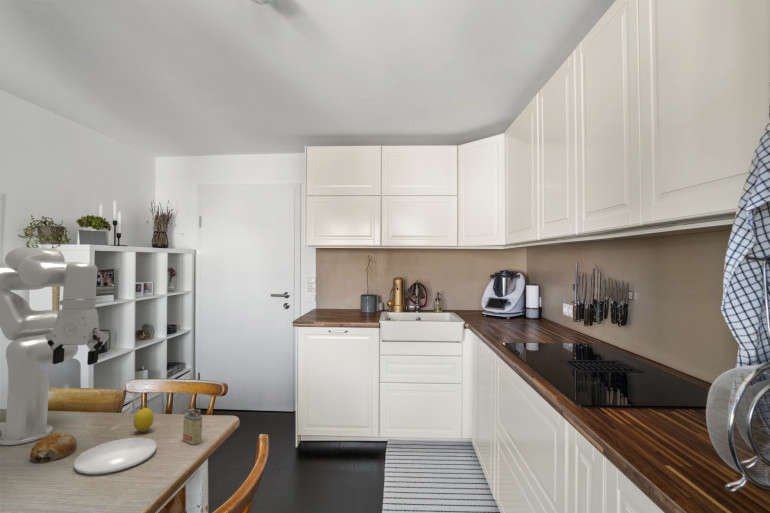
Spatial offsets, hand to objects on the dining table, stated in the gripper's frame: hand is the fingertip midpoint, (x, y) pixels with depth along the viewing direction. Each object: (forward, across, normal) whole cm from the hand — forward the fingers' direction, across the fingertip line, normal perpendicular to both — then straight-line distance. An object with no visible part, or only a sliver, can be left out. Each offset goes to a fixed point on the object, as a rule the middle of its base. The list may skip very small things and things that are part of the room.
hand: (75, 363), depth 108 cm
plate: (+26, +15, -2) cm, 30 cm away
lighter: (+26, +31, +8) cm, 41 cm away
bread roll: (+26, -4, -1) cm, 27 cm away
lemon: (+26, +12, +15) cm, 32 cm away
